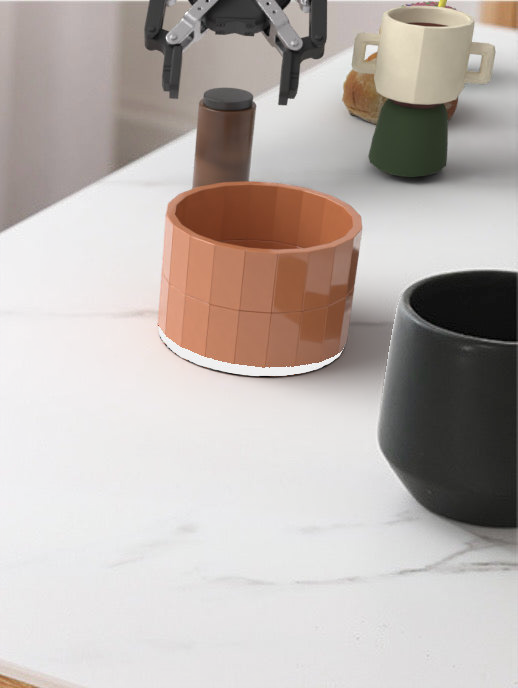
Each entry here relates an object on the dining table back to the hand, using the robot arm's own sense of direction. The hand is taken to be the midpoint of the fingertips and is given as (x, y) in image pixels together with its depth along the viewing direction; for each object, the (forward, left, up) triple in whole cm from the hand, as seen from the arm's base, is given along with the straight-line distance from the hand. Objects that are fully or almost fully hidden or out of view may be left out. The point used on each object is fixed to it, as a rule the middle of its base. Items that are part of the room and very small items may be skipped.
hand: (228, 97), depth 124 cm
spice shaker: (0, +2, -8) cm, 8 cm away
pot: (-3, +27, -8) cm, 28 cm away
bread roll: (-15, -23, -8) cm, 29 cm away
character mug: (-15, -7, -8) cm, 18 cm away
